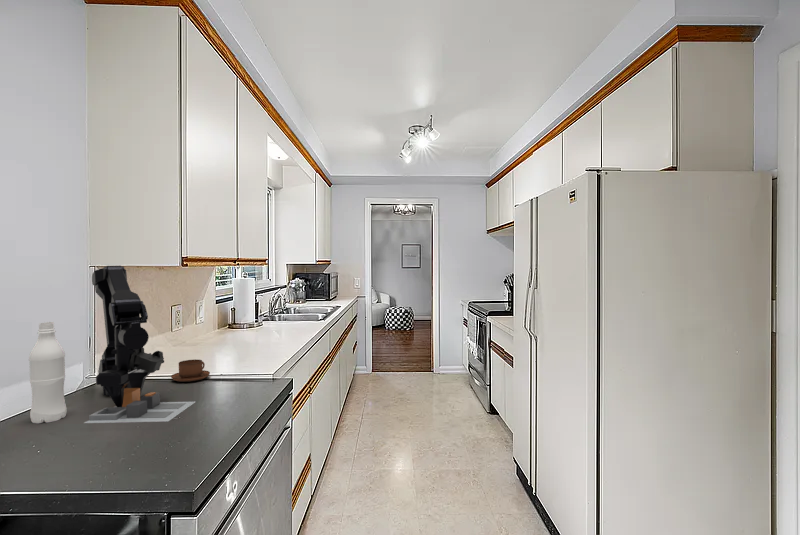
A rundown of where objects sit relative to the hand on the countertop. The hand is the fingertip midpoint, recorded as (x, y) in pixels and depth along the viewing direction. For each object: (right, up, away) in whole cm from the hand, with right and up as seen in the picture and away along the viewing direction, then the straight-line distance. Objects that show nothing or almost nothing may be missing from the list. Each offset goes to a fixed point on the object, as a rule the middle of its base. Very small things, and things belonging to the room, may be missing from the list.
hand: (128, 402), depth 127 cm
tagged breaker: (+7, 0, -2) cm, 7 cm away
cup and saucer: (+2, -2, +34) cm, 34 cm away
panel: (+7, -2, -6) cm, 9 cm away
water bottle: (-14, -3, -10) cm, 17 cm away
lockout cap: (0, -1, 0) cm, 1 cm away
